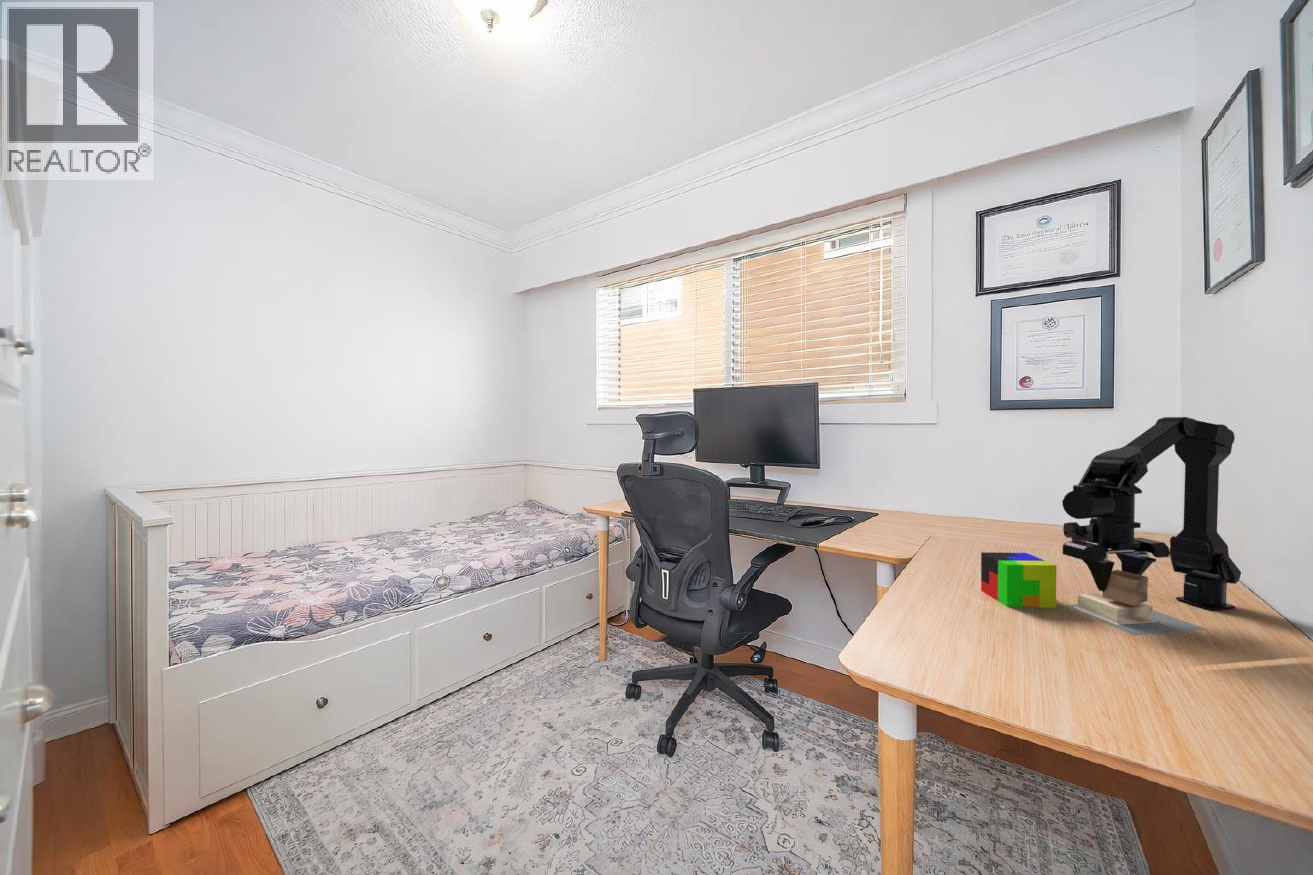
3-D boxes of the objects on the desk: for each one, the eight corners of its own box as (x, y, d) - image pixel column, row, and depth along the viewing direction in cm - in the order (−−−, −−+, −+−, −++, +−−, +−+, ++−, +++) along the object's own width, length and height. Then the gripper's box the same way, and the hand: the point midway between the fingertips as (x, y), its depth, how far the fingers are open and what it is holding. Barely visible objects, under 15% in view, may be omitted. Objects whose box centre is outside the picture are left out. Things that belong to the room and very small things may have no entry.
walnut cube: (1116, 592, 103) (1116, 569, 102) (1147, 601, 98) (1147, 576, 98) (1102, 596, 101) (1102, 573, 100) (1133, 605, 96) (1134, 580, 96)
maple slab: (1110, 605, 105) (1111, 592, 105) (1152, 620, 98) (1152, 606, 97) (1077, 608, 105) (1078, 594, 105) (1116, 623, 97) (1117, 608, 97)
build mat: (1125, 603, 108) (1125, 600, 108) (1209, 632, 93) (1209, 629, 93) (1060, 607, 106) (1060, 605, 106) (1135, 638, 92) (1135, 635, 92)
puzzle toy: (1025, 594, 115) (1025, 552, 115) (1055, 610, 105) (1056, 565, 105) (981, 593, 116) (981, 552, 116) (1006, 609, 106) (1007, 564, 106)
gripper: (1114, 506, 109) (1113, 575, 110) (1039, 510, 107) (1039, 579, 108) (1172, 516, 98) (1170, 592, 99) (1089, 520, 96) (1088, 598, 97)
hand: (1114, 589), depth 101 cm, fingers open, 6 cm apart
